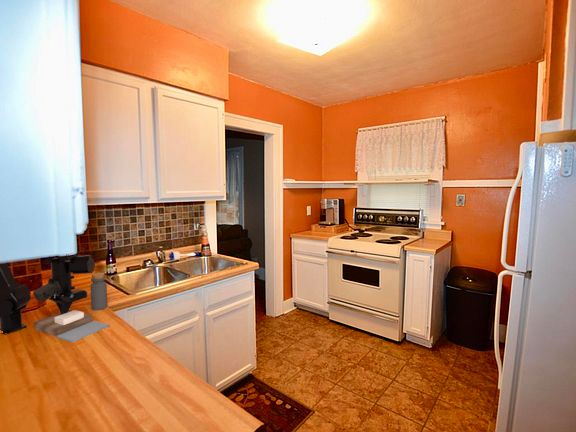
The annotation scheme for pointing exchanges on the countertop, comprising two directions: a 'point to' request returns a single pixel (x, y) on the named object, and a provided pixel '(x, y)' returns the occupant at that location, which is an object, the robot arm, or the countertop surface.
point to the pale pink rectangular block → (69, 317)
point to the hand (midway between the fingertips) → (64, 315)
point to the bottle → (98, 291)
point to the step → (56, 329)
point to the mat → (82, 331)
